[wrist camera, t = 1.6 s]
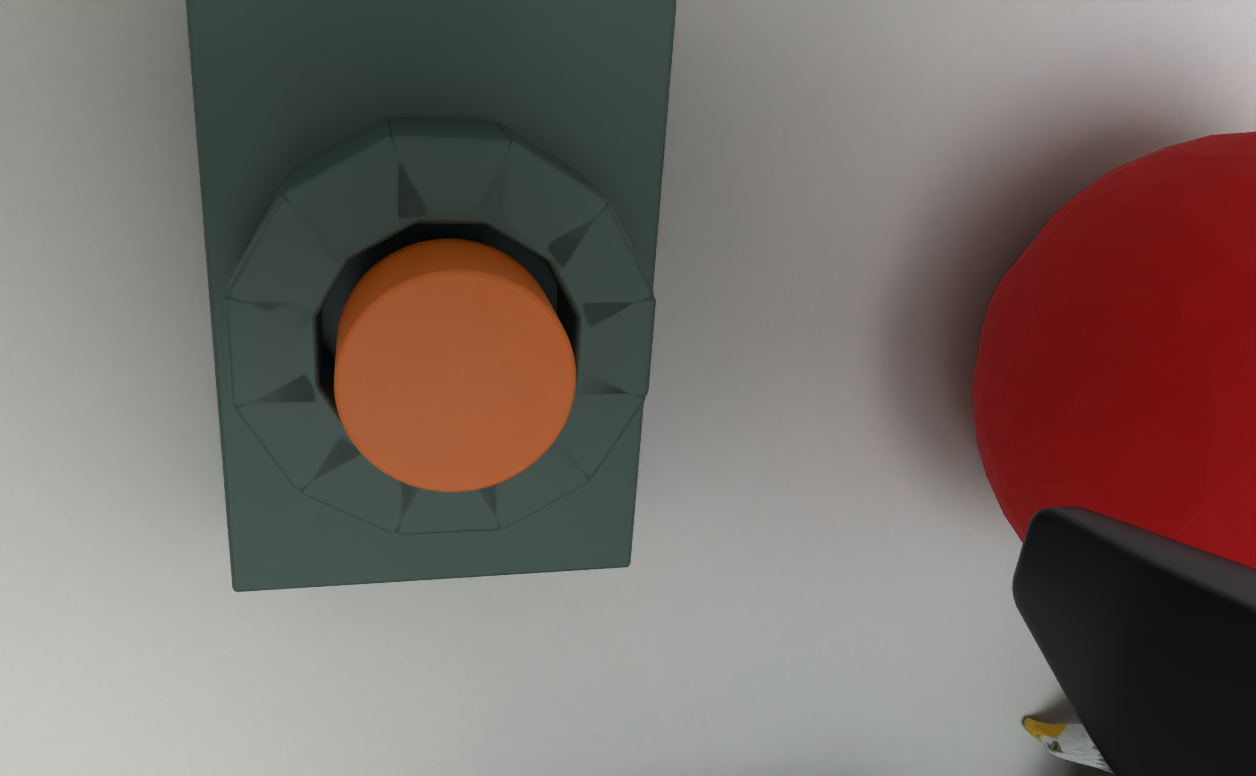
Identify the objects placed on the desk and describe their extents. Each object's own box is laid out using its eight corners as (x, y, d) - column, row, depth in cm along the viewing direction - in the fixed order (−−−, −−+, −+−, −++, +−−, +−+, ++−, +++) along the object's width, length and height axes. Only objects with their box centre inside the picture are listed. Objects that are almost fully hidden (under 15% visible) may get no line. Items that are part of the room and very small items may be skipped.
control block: (606, 512, 21) (655, 623, 18) (245, 530, 20) (218, 658, 16) (643, -8, 18) (714, 0, 14) (203, -40, 16) (157, -40, 12)
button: (551, 438, 16) (571, 489, 15) (339, 444, 16) (337, 499, 14) (560, 238, 15) (583, 271, 14) (333, 235, 14) (329, 269, 13)
